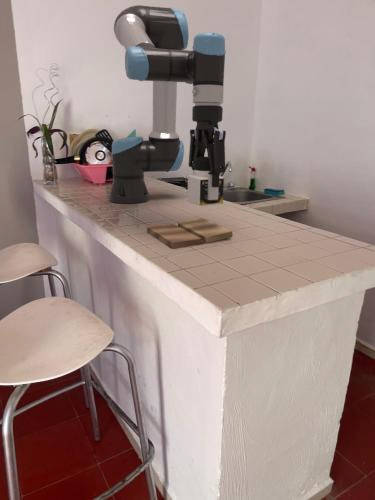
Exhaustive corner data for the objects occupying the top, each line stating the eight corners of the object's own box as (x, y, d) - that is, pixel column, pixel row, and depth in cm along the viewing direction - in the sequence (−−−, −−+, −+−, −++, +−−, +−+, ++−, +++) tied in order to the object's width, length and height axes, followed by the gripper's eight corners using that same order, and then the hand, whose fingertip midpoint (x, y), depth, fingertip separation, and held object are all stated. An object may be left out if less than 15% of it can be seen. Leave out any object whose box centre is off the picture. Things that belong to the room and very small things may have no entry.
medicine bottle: (199, 206, 96) (201, 158, 92) (187, 201, 102) (187, 156, 98) (223, 204, 99) (225, 157, 95) (209, 199, 105) (210, 155, 101)
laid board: (147, 232, 104) (147, 226, 103) (176, 228, 108) (176, 223, 107) (172, 248, 90) (172, 242, 90) (204, 243, 94) (204, 238, 94)
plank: (177, 227, 108) (177, 222, 107) (201, 222, 111) (201, 217, 111) (206, 243, 95) (206, 237, 94) (232, 236, 98) (232, 231, 97)
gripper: (175, 105, 99) (175, 191, 106) (216, 103, 82) (213, 205, 90) (200, 106, 102) (198, 190, 110) (244, 104, 86) (238, 202, 93)
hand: (205, 196), depth 100 cm, fingers closed on medicine bottle, 7 cm apart
